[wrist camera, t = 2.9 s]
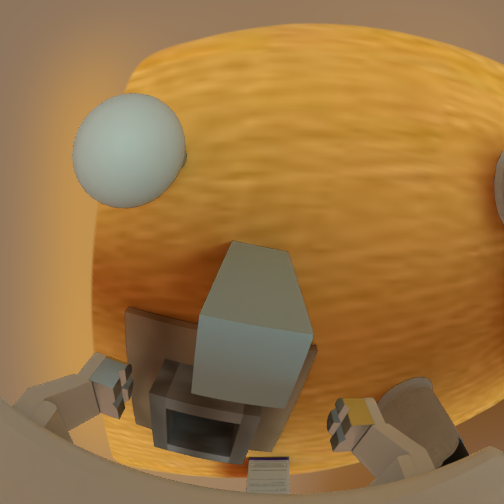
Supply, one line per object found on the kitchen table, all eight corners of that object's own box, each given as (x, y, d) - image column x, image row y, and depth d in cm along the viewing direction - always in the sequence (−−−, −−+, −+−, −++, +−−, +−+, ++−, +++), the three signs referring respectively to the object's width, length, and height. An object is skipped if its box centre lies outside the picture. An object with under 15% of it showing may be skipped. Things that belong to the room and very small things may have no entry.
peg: (288, 251, 22) (314, 334, 10) (275, 301, 23) (284, 408, 11) (232, 240, 22) (199, 314, 10) (223, 291, 23) (191, 393, 11)
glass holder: (428, 365, 25) (486, 454, 10) (436, 416, 28) (472, 485, 13) (365, 402, 26) (400, 505, 12) (387, 444, 29) (412, 518, 15)
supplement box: (247, 456, 30) (242, 523, 19) (289, 456, 30) (293, 522, 19) (248, 472, 31) (245, 531, 20) (286, 472, 31) (289, 531, 20)
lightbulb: (203, 201, 21) (147, 228, 10) (134, 189, 21) (43, 206, 10) (219, 125, 19) (176, 78, 9) (148, 117, 19) (64, 83, 8)
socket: (315, 344, 24) (327, 387, 18) (271, 446, 29) (271, 482, 23) (129, 306, 24) (98, 339, 18) (138, 418, 29) (123, 450, 23)
